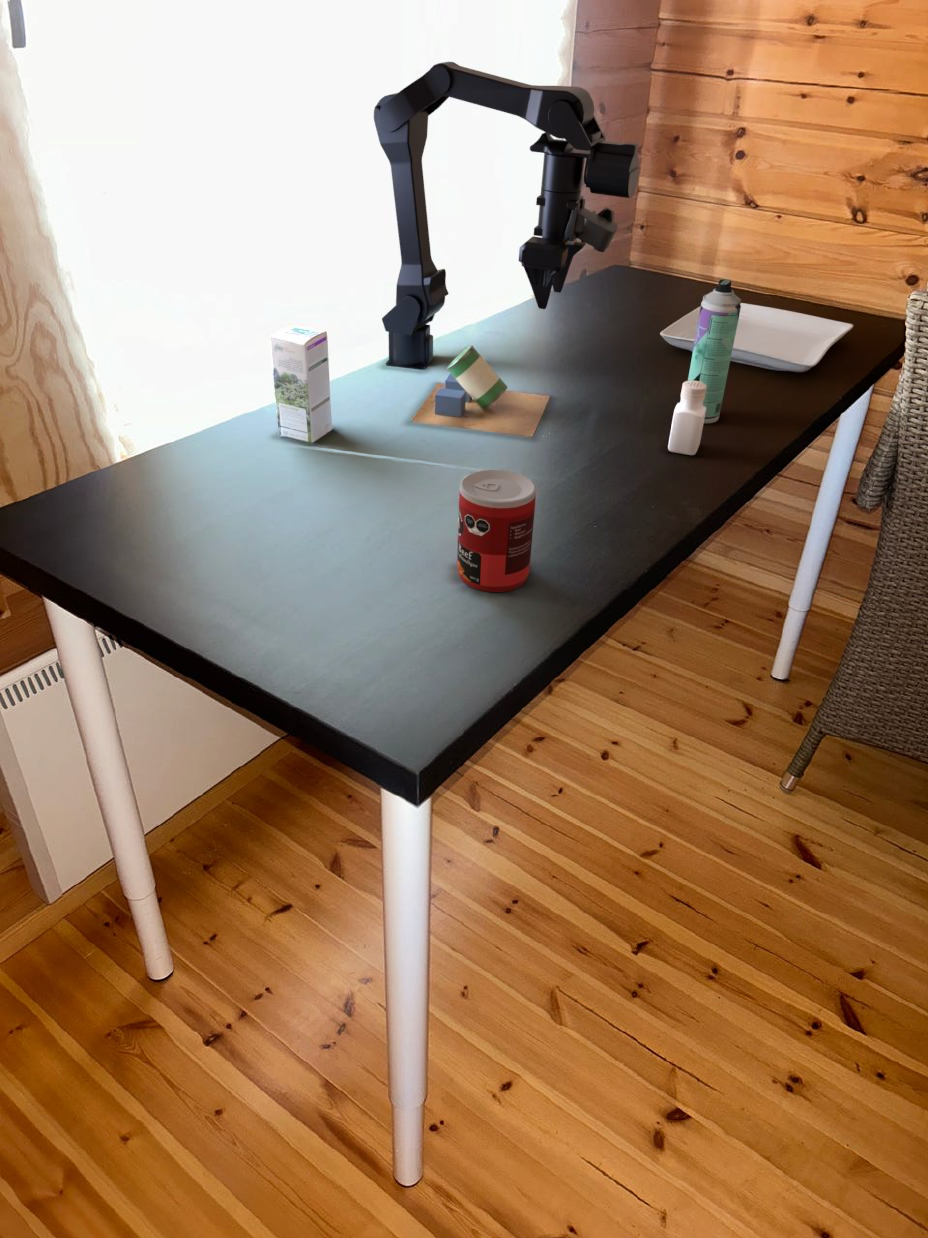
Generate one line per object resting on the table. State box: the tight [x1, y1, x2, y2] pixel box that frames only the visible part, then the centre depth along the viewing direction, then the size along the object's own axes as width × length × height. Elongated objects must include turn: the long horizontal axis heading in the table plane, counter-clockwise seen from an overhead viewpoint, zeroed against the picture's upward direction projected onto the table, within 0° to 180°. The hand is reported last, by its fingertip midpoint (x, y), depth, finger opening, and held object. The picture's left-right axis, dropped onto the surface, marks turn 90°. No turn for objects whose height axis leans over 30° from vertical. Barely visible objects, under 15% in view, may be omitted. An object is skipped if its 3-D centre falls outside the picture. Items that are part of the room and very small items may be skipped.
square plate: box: [659, 302, 854, 373], centre depth 170 cm, size 27×27×4 cm
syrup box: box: [269, 324, 333, 444], centre depth 129 cm, size 6×6×14 cm
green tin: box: [446, 344, 508, 410], centre depth 140 cm, size 9×5×9 cm, turn 77°
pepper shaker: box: [667, 380, 707, 456], centre depth 131 cm, size 4×4×10 cm
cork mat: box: [410, 382, 551, 438], centre depth 143 cm, size 18×16×1 cm
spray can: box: [687, 278, 742, 424], centre depth 138 cm, size 6×6×20 cm
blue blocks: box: [435, 373, 472, 417], centre depth 142 cm, size 4×9×3 cm, turn 167°
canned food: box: [456, 469, 537, 593], centre depth 102 cm, size 8×8×11 cm
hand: (550, 299), depth 144 cm, fingers open, 9 cm apart
